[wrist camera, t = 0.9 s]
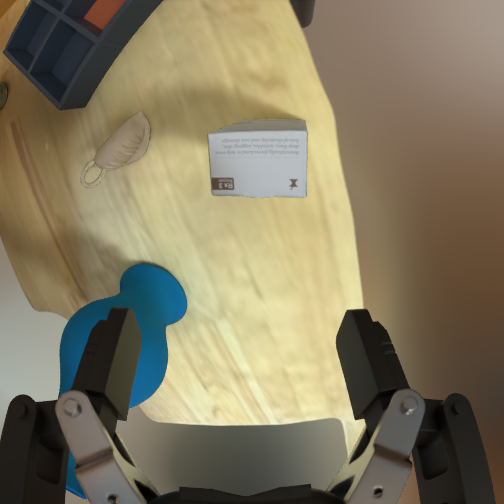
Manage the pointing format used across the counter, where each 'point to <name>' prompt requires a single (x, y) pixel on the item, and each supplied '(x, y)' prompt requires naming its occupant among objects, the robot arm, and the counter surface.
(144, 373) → the vase
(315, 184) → the counter surface
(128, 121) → the decorative ornament
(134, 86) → the counter surface
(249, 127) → the cosmetic box
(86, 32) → the grid
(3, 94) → the lime
